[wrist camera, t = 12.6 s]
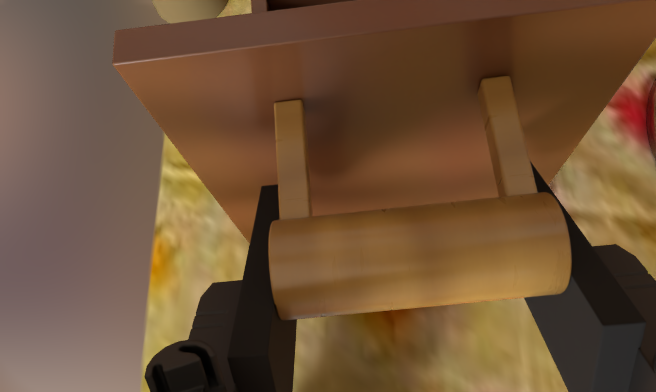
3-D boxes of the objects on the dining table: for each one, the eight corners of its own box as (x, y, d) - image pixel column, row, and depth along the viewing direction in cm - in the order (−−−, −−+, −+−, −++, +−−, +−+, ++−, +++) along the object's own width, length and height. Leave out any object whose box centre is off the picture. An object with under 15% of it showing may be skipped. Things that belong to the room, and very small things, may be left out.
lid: (114, 29, 12) (91, 313, 10) (674, -41, 11) (791, 244, 9) (264, 246, 27) (269, 375, 25) (505, 221, 27) (532, 351, 25)
